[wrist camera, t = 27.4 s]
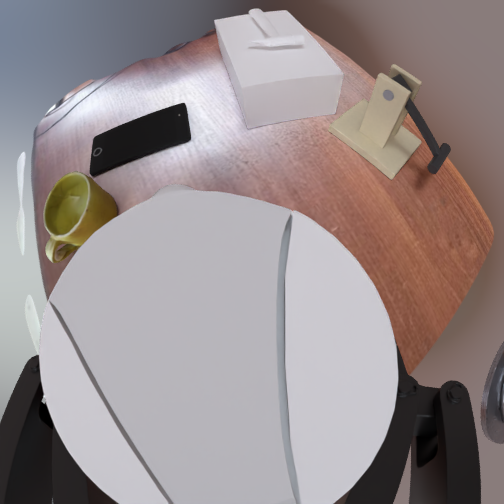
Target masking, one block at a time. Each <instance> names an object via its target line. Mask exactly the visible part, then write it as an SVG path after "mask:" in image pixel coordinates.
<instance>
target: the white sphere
mask: <svg viewBox="0 0 504 504" xmlns="http://www.w3.org/2000/svg"><path fill="white" fill-rule="evenodd" d="M181 190H194V189H193V188H191V187H189V186H187V185H182V184H171V185H167V186H165V187H163V188H161V189H159V190H158V191H157V192H156V193H155V194H154V195H153V196H152V198H154V197H156V196H159V195H162V194H166V193H169V192H174V191H181Z"/></svg>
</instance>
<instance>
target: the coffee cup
mask: <svg viewBox="0 0 504 504" xmlns="http://www.w3.org/2000/svg"><path fill="white" fill-rule="evenodd" d="M39 363H40V374H41V382H42V387H43V392H44V396H45V400H46V404H47V407H48V410H49V413H50V415H51V418H52V420H53V423H54V426H55V428H56V430H57V432H58V434H59V436H60V438H61V439H62V441H63V443H64V445H65V447H66V448H67V450H68V452H69V453H70V454H71V456H72V457H73V459H74V460H75V461H76V463H77V464H78V465H79V467H80V468H81V469H82V470H83V472H84V473H85V474H86V475H87V476H88V477H89V478H90V479H91V480H92V481H93V482H94V483H95V484H96V485H97V486H98V487H99V488H100V489H101V490H102V491H103V492H105V493H106V494H107V495H108V496H110V497H111V498H112V499H113V500H115V501H116V502H117V503H119V504H333V503H335V502H336V501H337V500H338V499H340V498H341V497H342V496H343V495H344V494H345V493H347V492H348V491H349V490H350V489H351V488H352V487H353V486H354V485H355V483H356V482H357V481H358V480H359V479H360V477H361V476H362V475H363V474H364V473H365V471H366V470H367V469H368V467H369V466H370V465H371V463H372V461H373V460H374V458H375V456H376V454H377V452H378V451H379V449H380V447H381V445H382V443H383V441H384V439H385V437H386V434H387V431H388V428H389V425H390V422H391V419H392V416H393V413H394V409H395V403H396V395H397V387H398V361H397V347H396V343H395V339H394V335H393V331H392V327H391V323H390V319H389V316H388V313H387V311H386V309H385V306H384V304H383V302H382V300H381V298H380V295H379V293H378V291H377V289H376V287H375V285H374V284H373V282H372V281H371V279H370V278H369V276H368V275H367V273H366V272H365V271H364V269H363V268H362V266H361V265H360V263H359V262H358V260H357V259H356V258H355V257H354V256H353V255H352V254H351V253H350V252H349V251H348V250H347V249H346V248H345V247H344V246H343V245H342V244H341V243H340V242H339V241H338V240H337V238H336V237H335V236H333V235H332V234H331V233H329V232H328V231H327V230H325V229H324V228H323V227H321V226H320V225H318V224H317V223H316V222H314V221H313V220H312V219H310V218H309V217H307V216H305V215H303V214H301V213H300V212H298V211H296V210H294V212H293V211H291V210H290V209H288V208H284V207H281V206H278V205H274V204H271V203H268V202H265V201H261V200H257V199H254V198H249V197H244V196H239V195H234V194H230V193H224V192H214V191H198V190H181V191H174V192H169V193H166V194H162V195H159V196H156V197H154V198H151V199H149V200H146V201H144V202H142V203H140V204H137V205H135V206H134V207H132V208H130V209H128V210H127V211H125V212H124V213H122V214H121V215H119V216H117V217H115V218H114V219H112V220H111V221H109V222H108V223H106V224H105V225H104V226H102V227H101V228H100V229H98V230H97V231H95V232H94V233H93V234H92V235H91V236H90V237H89V239H88V240H87V241H86V242H85V243H84V244H83V245H82V246H81V247H80V248H79V249H78V250H77V252H76V253H75V255H74V256H73V258H72V259H71V261H70V262H69V264H68V265H67V267H66V268H65V270H64V271H63V273H62V275H61V276H60V278H59V280H58V282H57V284H56V286H55V287H54V289H53V291H52V293H51V295H50V297H49V300H48V302H47V305H46V308H45V312H44V316H43V321H42V327H41V332H40V347H39Z"/></svg>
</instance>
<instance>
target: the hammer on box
mask: <svg viewBox="0 0 504 504" xmlns="http://www.w3.org/2000/svg"><path fill="white" fill-rule="evenodd" d="M249 13H250V14H247V15H240V16H235V17H229V18H223V19H218V20H214V22H215V27H216V32H217V37H218V42H219V47H220V52H221V55H222V57H223V60H224V63H225V66H226V68H227V71H228V74H229V77H230V80H231V82H232V85H233V88H234V91H235V94H236V97H237V100H238V103H239V105H240V108H241V111H242V114H243V117H244V120H245V123H246V126H247V129H251V128H256V127H260V126H265V125H270V124H275V123H281V122H286V121H292V120H298V119H304V118H310V117H317V116H324V115H332V114H336V109H337V105H338V100H339V96H340V91H341V87H342V82H343V77H344V74H343V72H342V71H341V70H340V68H339V67H338V66H337V65H336V63H335V62H334V61H333V60H332V59H331V57H330V56H329V55H328V54H327V53H326V51H325V50H324V49H323V48H322V47H321V46H320V45H319V43H318V42H317V41H316V40H315V39H314V38H313V37H312V36H311V35H310V34H309V33H308V31H307V30H306V29H305V28H304V27H303V26H302V25H301V24H300V23H299V22H298V21H297V20H296V19H295V18H294V17H293V16H292V15H291V14H290V13H289V12H288V11H286V10H284V11H272V12H262V11H261V10H260V9H252V10H250V11H249Z"/></svg>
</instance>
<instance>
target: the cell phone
mask: <svg viewBox="0 0 504 504" xmlns="http://www.w3.org/2000/svg"><path fill="white" fill-rule="evenodd" d="M190 140H191V134H190V128H189V121H188V114H187V108H186V105H185V103H181V104H177V105H174V106H171V107H168V108H165V109H162V110H159V111H156V112H153V113H151V114H148V115H145V116H142V117H140V118H137V119H135V120H132V121H130V122H127V123H125V124H122V125H120V126H117V127H115V128H113V129H111V130H108V131H106V132H104V133H102V134H99V135H97V136H95V137H94V139H93V145H92V153H91V162H90V174H91V175H92V176H95V175H97V174H99V173H101V172H104V171H106V170H108V169H111V168H113V167H116V166H118V165H121V164H123V163H126V162H128V161H131V160H134V159H136V158H139V157H142V156H145V155H147V154H150V153H153V152H156V151H159V150H162V149H165V148H168V147H171V146H174V145H177V144H180V143H184V142H188V141H190Z"/></svg>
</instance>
